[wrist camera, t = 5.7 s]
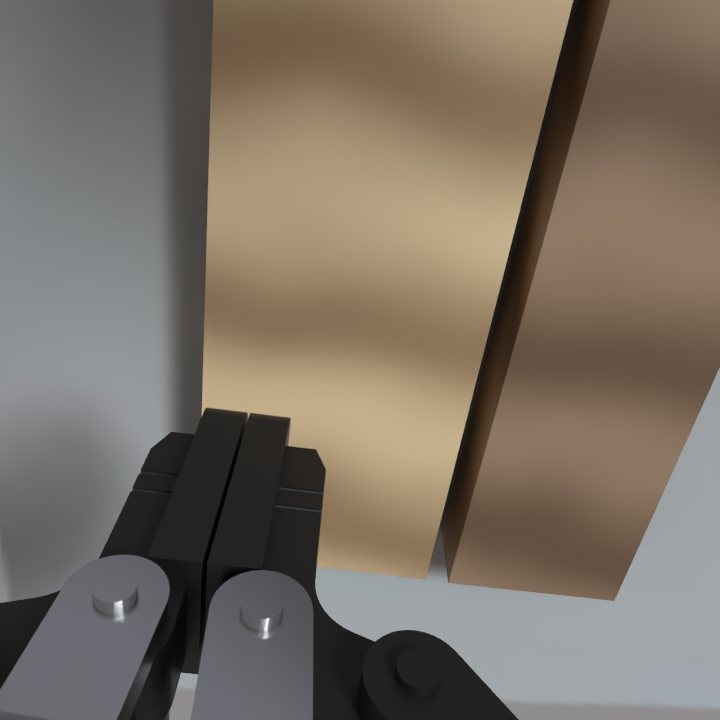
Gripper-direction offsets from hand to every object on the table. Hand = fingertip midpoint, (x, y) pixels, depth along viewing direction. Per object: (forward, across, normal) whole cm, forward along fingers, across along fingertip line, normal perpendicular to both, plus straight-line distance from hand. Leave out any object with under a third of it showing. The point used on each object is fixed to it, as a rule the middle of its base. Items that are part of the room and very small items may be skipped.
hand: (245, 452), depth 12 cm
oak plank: (+10, -2, 0) cm, 10 cm away
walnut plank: (+10, -10, 0) cm, 14 cm away
